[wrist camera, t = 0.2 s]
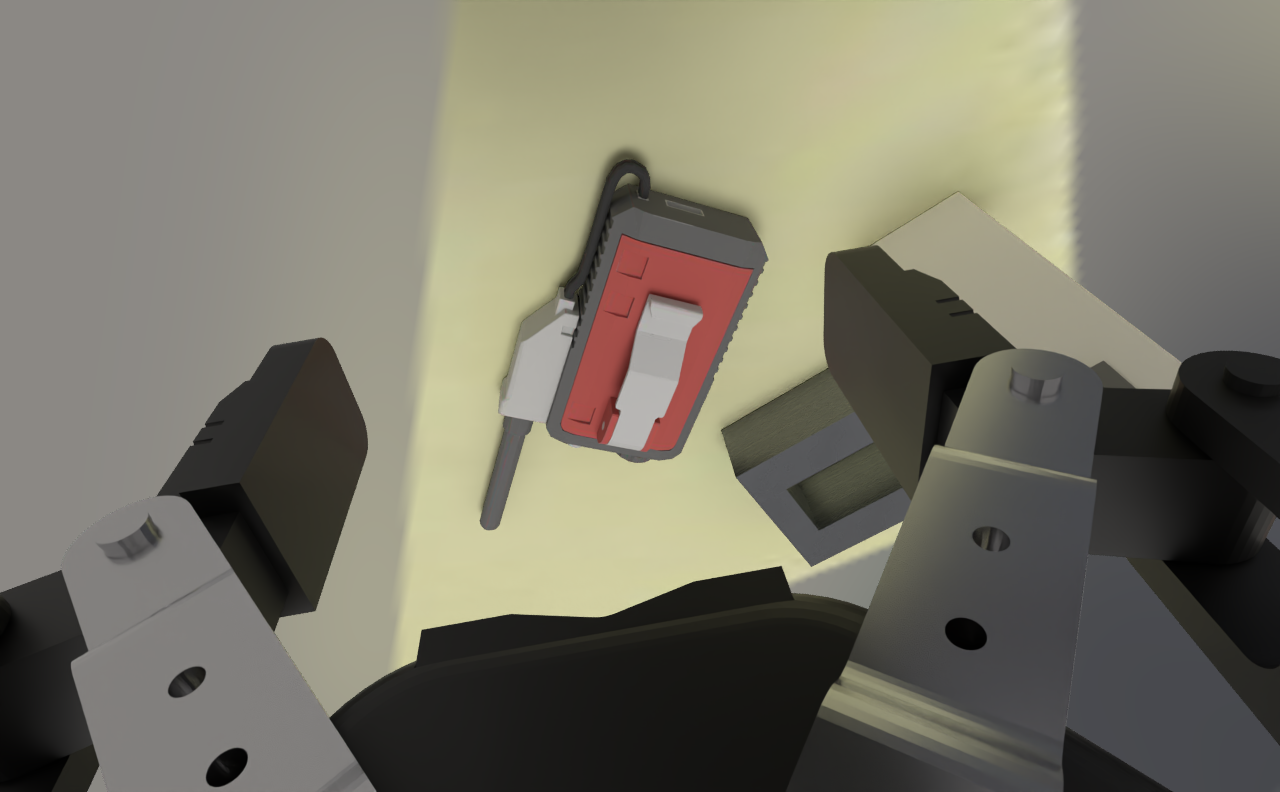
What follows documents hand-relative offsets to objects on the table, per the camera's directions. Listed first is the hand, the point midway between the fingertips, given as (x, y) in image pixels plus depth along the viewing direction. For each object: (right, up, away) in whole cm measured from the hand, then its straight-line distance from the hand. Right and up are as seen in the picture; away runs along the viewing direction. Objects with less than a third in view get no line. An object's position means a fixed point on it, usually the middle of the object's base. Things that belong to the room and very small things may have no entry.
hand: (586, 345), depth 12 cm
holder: (+11, -3, +25) cm, 28 cm away
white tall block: (+13, +6, +19) cm, 24 cm away
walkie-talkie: (-1, +1, +22) cm, 22 cm away
